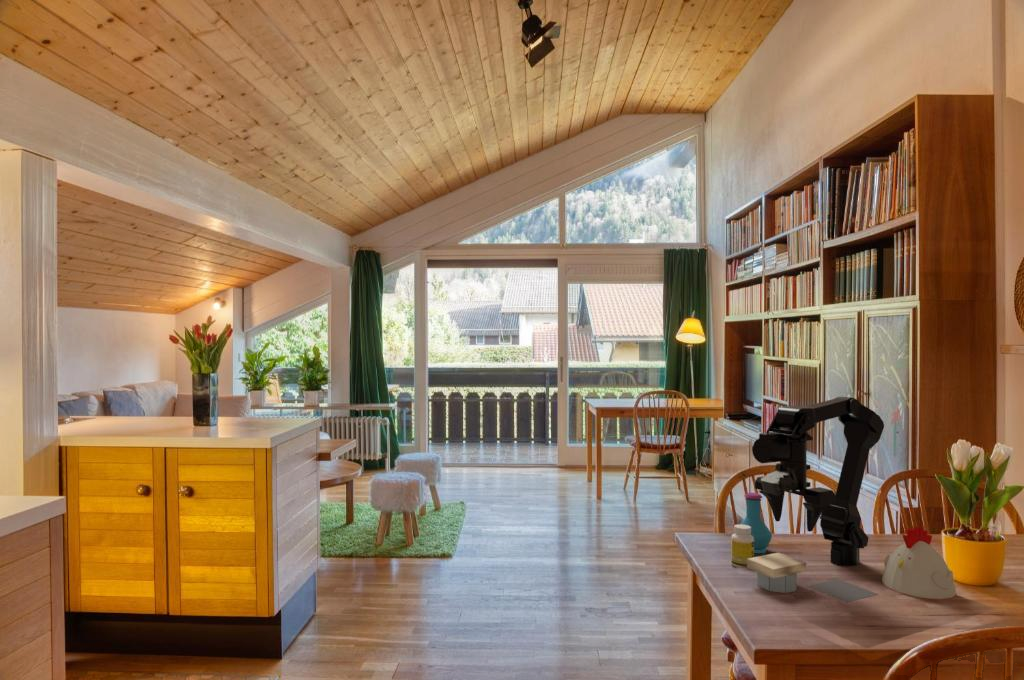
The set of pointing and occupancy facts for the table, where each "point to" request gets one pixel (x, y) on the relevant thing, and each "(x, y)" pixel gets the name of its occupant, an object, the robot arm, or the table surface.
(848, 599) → the mat
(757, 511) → the teal vase
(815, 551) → the table surface
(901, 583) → the white ceramic hen
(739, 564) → the supplement bottle
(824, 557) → the table surface
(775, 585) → the bowl
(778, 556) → the cover board
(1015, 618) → the table surface
